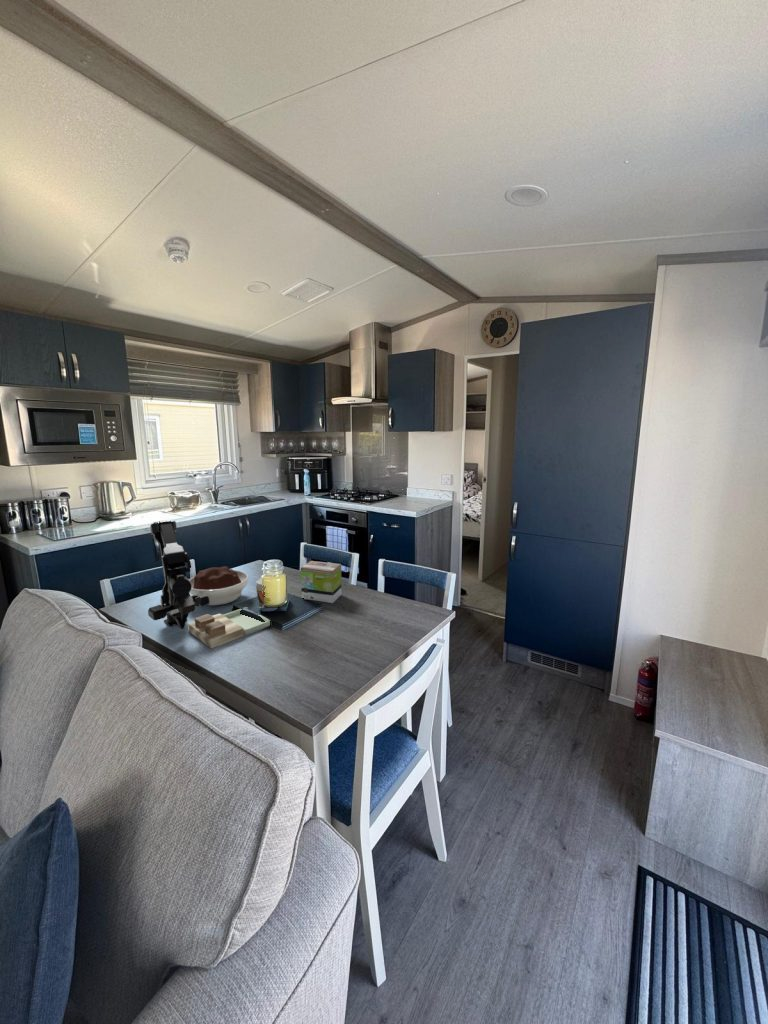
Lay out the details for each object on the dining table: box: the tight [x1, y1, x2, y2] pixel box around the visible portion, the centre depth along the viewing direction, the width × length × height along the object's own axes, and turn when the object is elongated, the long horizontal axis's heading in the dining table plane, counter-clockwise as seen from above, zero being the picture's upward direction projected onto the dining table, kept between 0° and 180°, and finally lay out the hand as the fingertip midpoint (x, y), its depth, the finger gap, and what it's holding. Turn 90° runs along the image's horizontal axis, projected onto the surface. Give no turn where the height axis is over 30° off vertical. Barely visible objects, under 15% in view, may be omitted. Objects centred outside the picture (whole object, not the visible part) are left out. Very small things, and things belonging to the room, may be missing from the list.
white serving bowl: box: [188, 566, 249, 606], centre depth 182 cm, size 25×25×15 cm
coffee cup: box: [255, 577, 266, 607], centre depth 174 cm, size 9×9×12 cm
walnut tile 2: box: [205, 620, 226, 636], centre depth 149 cm, size 5×5×2 cm
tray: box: [222, 606, 272, 637], centre depth 162 cm, size 18×11×2 cm, turn 47°
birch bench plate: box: [187, 613, 245, 649], centre depth 154 cm, size 18×12×3 cm, turn 47°
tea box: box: [300, 560, 342, 604], centre depth 185 cm, size 15×10×15 cm, turn 73°
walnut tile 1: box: [194, 613, 215, 629], centre depth 155 cm, size 5×5×2 cm
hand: (182, 628), depth 149 cm, fingers closed
